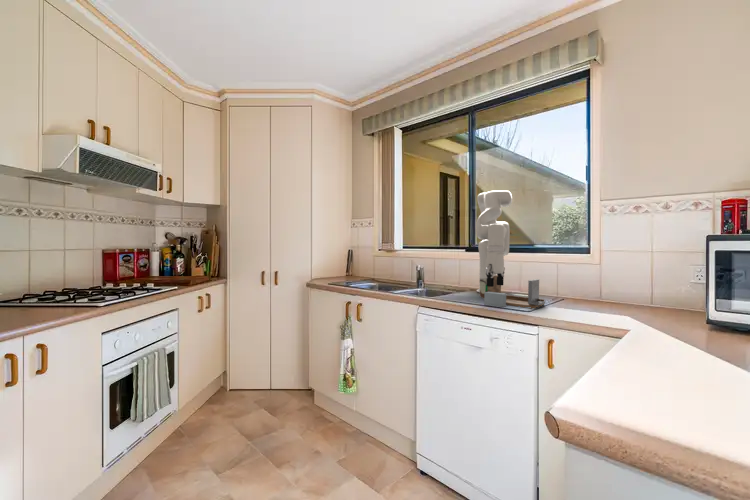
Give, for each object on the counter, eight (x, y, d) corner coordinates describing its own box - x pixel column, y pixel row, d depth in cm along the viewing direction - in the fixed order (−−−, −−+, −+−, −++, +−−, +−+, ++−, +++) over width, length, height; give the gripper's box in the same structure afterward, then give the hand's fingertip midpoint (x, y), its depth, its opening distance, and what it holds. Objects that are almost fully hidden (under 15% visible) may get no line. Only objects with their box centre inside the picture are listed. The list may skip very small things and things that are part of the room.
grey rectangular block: (488, 303, 172) (488, 291, 172) (506, 306, 166) (506, 293, 166) (484, 304, 169) (484, 292, 169) (502, 307, 163) (502, 294, 163)
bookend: (535, 301, 169) (535, 279, 168) (545, 303, 165) (545, 280, 165) (528, 304, 163) (528, 280, 162) (538, 305, 159) (538, 281, 159)
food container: (497, 299, 183) (497, 280, 183) (485, 299, 183) (486, 280, 183) (490, 296, 195) (490, 278, 195) (479, 296, 195) (479, 278, 195)
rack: (498, 299, 184) (499, 274, 183) (544, 305, 167) (544, 278, 167) (487, 302, 175) (487, 276, 175) (534, 308, 159) (534, 280, 159)
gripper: (496, 250, 175) (496, 284, 175) (479, 249, 163) (478, 286, 163) (511, 250, 170) (511, 285, 170) (494, 249, 158) (493, 287, 158)
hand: (495, 285), depth 167 cm, fingers open, 9 cm apart
